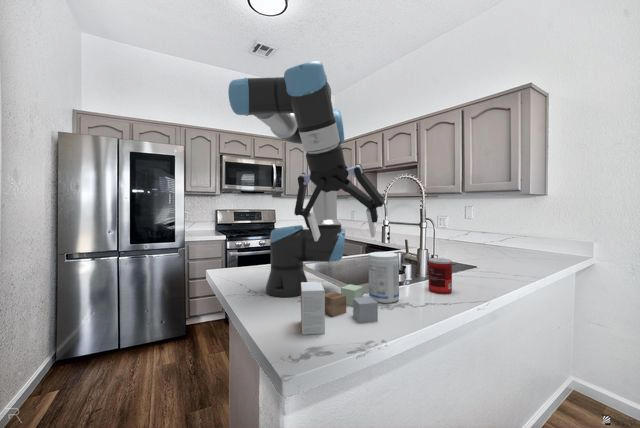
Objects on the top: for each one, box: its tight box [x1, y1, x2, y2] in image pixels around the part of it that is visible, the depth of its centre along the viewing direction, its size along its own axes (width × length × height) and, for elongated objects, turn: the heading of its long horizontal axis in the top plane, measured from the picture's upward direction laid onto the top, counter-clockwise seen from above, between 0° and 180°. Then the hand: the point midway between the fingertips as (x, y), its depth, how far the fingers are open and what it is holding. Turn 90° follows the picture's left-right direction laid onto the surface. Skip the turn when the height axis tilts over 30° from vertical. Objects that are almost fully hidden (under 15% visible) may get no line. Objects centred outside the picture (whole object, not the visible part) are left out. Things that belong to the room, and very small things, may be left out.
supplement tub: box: [367, 251, 400, 304], centre depth 91 cm, size 10×10×15 cm
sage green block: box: [340, 283, 364, 307], centre depth 87 cm, size 5×5×5 cm
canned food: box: [427, 257, 453, 295], centre depth 99 cm, size 8×8×11 cm
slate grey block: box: [352, 296, 379, 324], centre depth 75 cm, size 5×5×5 cm
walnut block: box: [325, 291, 347, 318], centre depth 80 cm, size 5×5×5 cm
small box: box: [300, 281, 326, 336], centre depth 70 cm, size 8×6×10 cm
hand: (344, 236), depth 66 cm, fingers open, 13 cm apart
